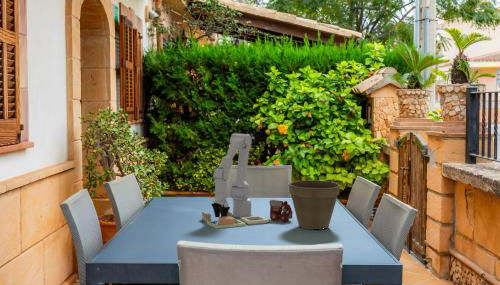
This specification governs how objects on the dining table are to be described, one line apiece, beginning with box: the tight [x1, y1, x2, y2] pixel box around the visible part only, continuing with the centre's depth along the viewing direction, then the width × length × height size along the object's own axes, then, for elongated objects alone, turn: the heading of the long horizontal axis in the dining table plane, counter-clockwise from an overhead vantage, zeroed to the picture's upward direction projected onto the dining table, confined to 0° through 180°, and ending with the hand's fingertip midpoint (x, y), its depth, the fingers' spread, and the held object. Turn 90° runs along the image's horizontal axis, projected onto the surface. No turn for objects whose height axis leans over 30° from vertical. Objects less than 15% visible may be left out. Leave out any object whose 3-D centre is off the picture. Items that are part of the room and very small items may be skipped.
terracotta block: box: [218, 216, 236, 225], centre depth 275 cm, size 6×6×4 cm
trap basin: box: [239, 215, 269, 226], centre depth 284 cm, size 11×10×2 cm
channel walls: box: [201, 211, 233, 223], centre depth 286 cm, size 13×8×4 cm, turn 117°
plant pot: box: [288, 179, 341, 230], centre depth 274 cm, size 25×25×22 cm
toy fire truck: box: [269, 199, 294, 223], centre depth 289 cm, size 7×12×10 cm, turn 68°
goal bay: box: [206, 218, 247, 230], centre depth 276 cm, size 16×11×1 cm
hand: (220, 218), depth 282 cm, fingers open, 7 cm apart
